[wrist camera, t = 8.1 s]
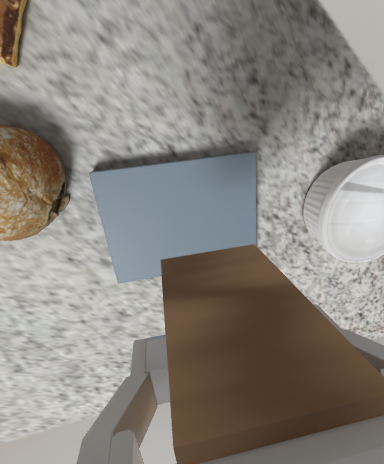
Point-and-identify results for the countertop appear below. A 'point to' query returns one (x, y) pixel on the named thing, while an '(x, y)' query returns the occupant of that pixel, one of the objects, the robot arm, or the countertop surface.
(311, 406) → the walnut block
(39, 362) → the countertop surface
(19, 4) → the shard
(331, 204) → the ramekin
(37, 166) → the bread roll
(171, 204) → the slate board
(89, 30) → the countertop surface
